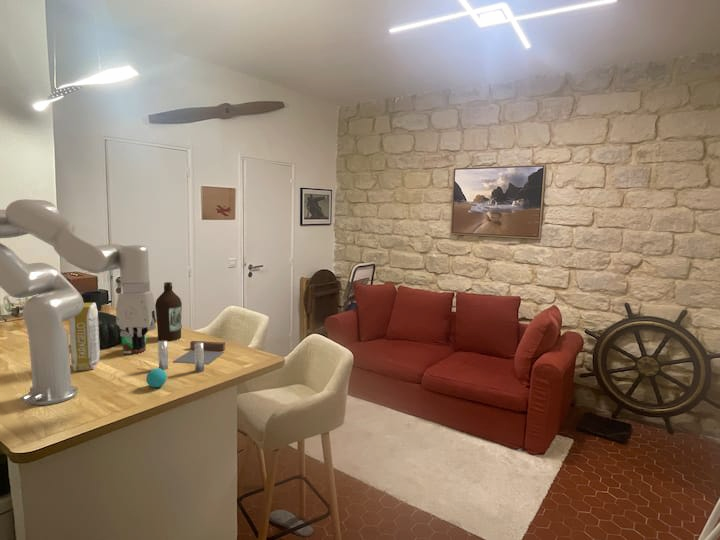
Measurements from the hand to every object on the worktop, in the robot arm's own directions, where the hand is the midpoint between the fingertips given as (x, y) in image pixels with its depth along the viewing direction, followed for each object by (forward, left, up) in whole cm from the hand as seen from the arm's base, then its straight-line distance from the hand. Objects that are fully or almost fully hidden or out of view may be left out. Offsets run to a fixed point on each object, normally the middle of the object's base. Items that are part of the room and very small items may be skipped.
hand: (138, 348), depth 132 cm
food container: (+41, +26, -16) cm, 52 cm away
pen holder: (+104, +92, -16) cm, 140 cm away
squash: (+47, +44, -16) cm, 67 cm away
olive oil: (+61, +24, -16) cm, 68 cm away
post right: (+25, -6, -16) cm, 31 cm away
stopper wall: (+49, +1, -16) cm, 52 cm away
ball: (+9, 0, -13) cm, 16 cm away
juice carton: (+22, +34, -16) cm, 44 cm away
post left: (+25, +7, -16) cm, 31 cm away
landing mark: (+39, 0, -16) cm, 42 cm away
